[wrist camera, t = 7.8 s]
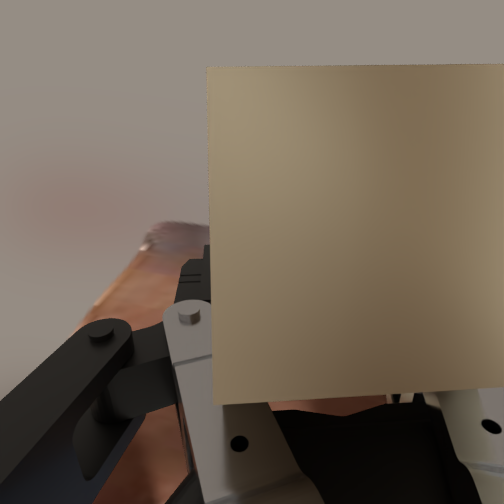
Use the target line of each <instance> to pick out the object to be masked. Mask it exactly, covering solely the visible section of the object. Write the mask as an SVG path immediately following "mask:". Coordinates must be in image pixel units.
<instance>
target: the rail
mask: <svg viewBox="0 0 504 504" xmlns="http://www.w3.org/2000/svg"><path fill="white" fill-rule="evenodd" d="M206 70H207V119H208V169H209V170H208V171H209V221H210V271H211V321H212V372H213V405H226V404H242V403H258V402H274V401H290V400H306V399H323V398H339V397H355V396H371V395H387V394H403V393H419V392H435V391H451V390H467V389H483V388H499V387H504V64H450V65H449V64H448V65H360V66H359V65H358V66H357V65H354V66H270V67H269V66H262V67H207V68H206Z"/></svg>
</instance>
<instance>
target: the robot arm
mask: <svg viewBox="0 0 504 504" xmlns="http://www.w3.org/2000/svg"><path fill="white" fill-rule="evenodd" d="M386 399H387V404H383V405H380V406H377V407H374V408H371V409H367V410H364V411H361V412H358V413H355V414H352V415H349V416H334V415H327V414H320V413H313V412H307V411H300V410H281V411H272V410H271V408H270V406H269V404H268V402H258V403H242V404H226V405H213V372H212V321H211V271H210V245H205V246H204V255H203V259H189V260H188V261H187V262H186V263H185V264H184V265H183V266H182V268H181V273H180V278H179V284H178V287H177V292H176V297H175V301H174V304H173V305H171V306H170V307H168V308H167V309H166V310H165V312H164V313H163V321H162V322H160V323H158V324H156V325H154V326H151V327H148V328H144V329H140V330H136V331H132V330H131V326H130V325H129V324H128V323H127V322H126V321H124V320H121V319H115V318H109V319H102V320H97V321H94V322H91V323H89V324H87V325H85V326H83V327H82V328H80V329H79V330H78V331H77V332H76V333H74V334H73V335H72V336H71V337H70V338H69V339H68V340H67V341H66V342H65V343H64V344H62V345H61V346H60V347H59V348H58V349H57V350H56V351H55V352H54V353H53V354H51V355H50V356H49V357H48V358H47V359H46V360H45V361H44V362H43V363H42V364H40V365H39V366H38V367H37V368H36V369H35V370H34V371H33V372H32V373H31V374H30V375H28V376H27V377H26V378H25V379H24V380H23V381H22V382H21V383H20V384H18V385H17V386H16V387H15V388H14V389H13V390H12V391H11V392H10V393H9V394H8V395H6V397H4V398H3V399H2V400H1V401H0V504H92V503H93V501H94V499H95V498H96V496H97V495H98V493H99V491H100V490H101V488H102V487H103V485H104V483H105V482H106V480H107V479H108V477H109V475H110V474H111V472H112V471H113V469H114V467H115V466H116V464H117V463H118V461H119V459H120V458H121V456H122V455H123V453H124V451H125V450H126V448H127V447H128V445H129V443H130V442H131V440H132V439H133V437H134V435H135V434H136V432H137V431H138V429H139V427H140V426H141V424H142V423H143V421H144V419H145V416H146V413H149V412H152V411H155V410H158V409H161V408H164V407H167V406H170V405H173V404H175V408H176V413H177V419H178V424H179V429H180V434H181V439H182V444H183V449H184V455H185V460H186V467H187V473H188V475H187V476H186V478H185V479H184V480H183V481H182V483H181V484H180V485H179V486H178V488H177V489H176V490H175V491H174V493H173V494H172V495H171V496H170V498H169V499H168V500H167V501H166V503H165V504H504V387H499V388H483V389H467V390H451V391H435V392H419V393H403V394H387V395H386Z"/></svg>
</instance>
